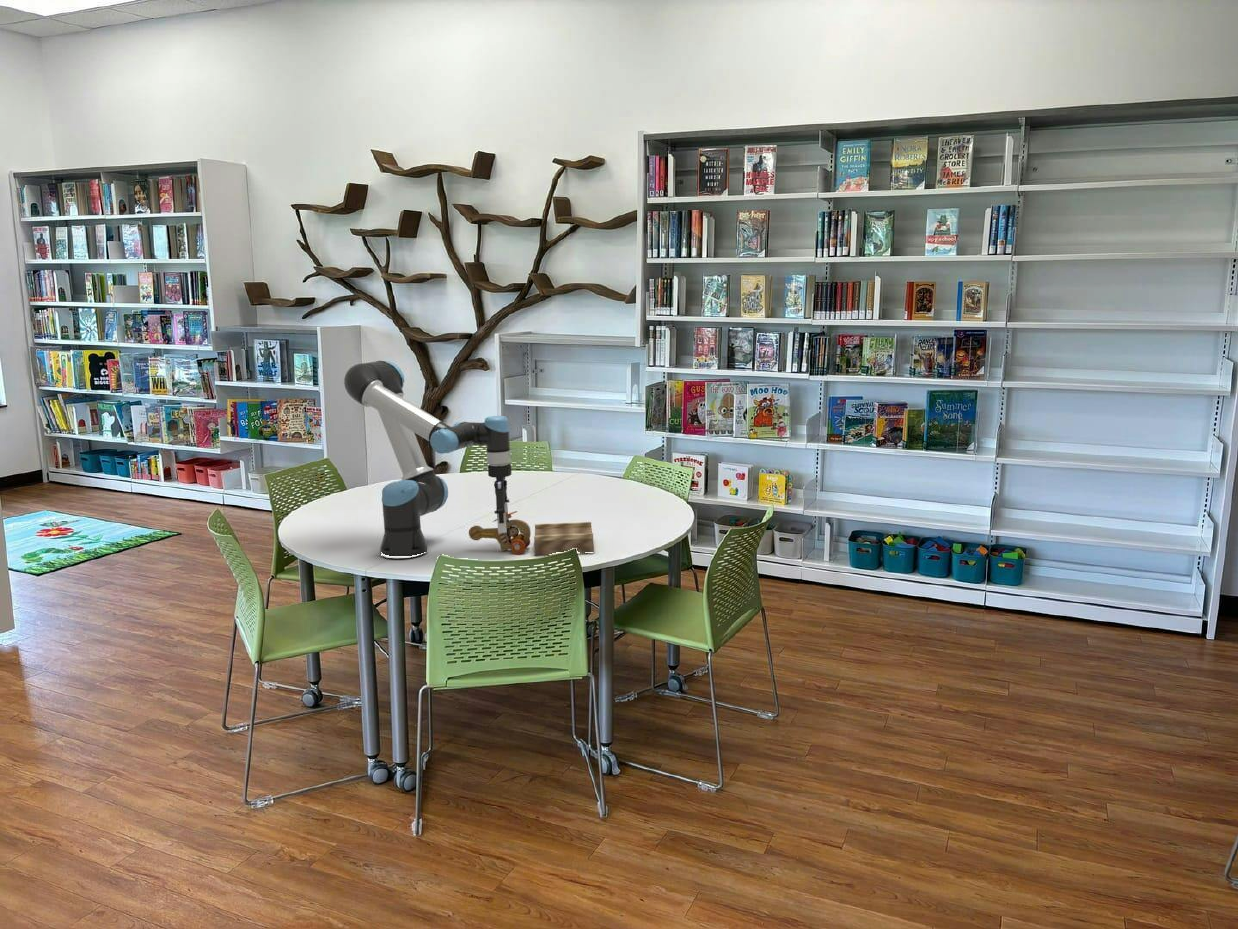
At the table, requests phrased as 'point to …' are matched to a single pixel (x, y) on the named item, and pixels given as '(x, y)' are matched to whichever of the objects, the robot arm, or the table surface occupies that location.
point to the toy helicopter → (506, 534)
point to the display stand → (563, 538)
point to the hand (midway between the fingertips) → (503, 527)
